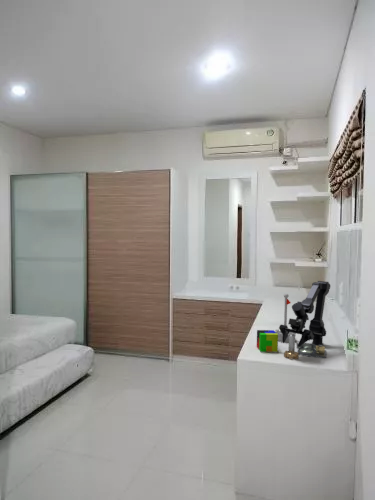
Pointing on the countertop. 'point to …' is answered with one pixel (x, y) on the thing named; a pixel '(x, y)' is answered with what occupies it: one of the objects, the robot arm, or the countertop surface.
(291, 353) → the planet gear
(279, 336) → the flag stand
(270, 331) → the puzzle toy
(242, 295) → the countertop surface
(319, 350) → the carrier plate
